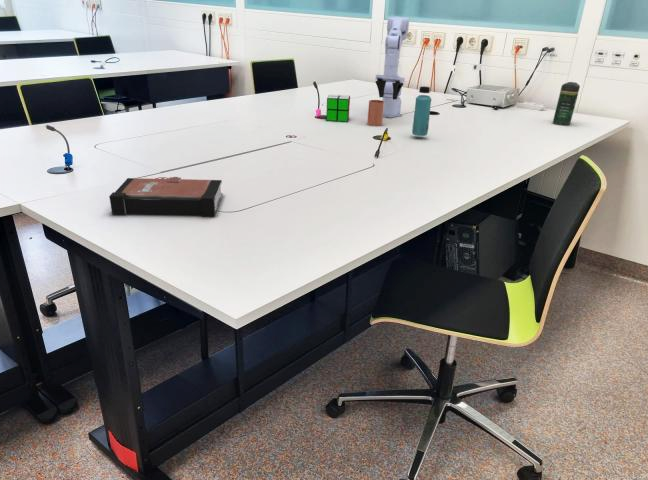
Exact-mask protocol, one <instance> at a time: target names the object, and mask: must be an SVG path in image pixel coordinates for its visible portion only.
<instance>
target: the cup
mask: <svg viewBox="0 0 648 480" xmlns="http://www.w3.org/2000/svg"><path fill="white" fill-rule="evenodd" d="M383 113H384V101H382V99H370V100H368V108H367V121H366V123H367V124H366V125H368V126H371V127H381V126H383V123H384V116H383Z"/></svg>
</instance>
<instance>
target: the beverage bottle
mask: <svg viewBox="0 0 648 480" xmlns="http://www.w3.org/2000/svg"><path fill="white" fill-rule="evenodd" d="M418 92H419V93H420V95H417V96H416V97H415V104H414V112H413V122H412V128H411V133H412V135H413V136H416V137H425V136H427V135H428V132H429V124H430V116H431V115H430V114H431V107H432V106H431V105H432V97H430V95H426V94H430V92H431V88H430V86H425V85H424V86H419V91H418Z"/></svg>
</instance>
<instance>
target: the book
mask: <svg viewBox="0 0 648 480" xmlns="http://www.w3.org/2000/svg"><path fill="white" fill-rule="evenodd" d="M222 184H223V180H222V179H191V178H190V179H186V178H182V177H178V176H173V177H171V176H170V177H169V178H145V177H144V178H140V177H127V178H126V179H125V180H124V181H123V183H122V184H121V185H120V186H119V187H118V188H117V189H116V190H115V192H114V191H113V192H112V193H111V194H110V195H109V196H108V197H109V203H110V209H111V215H112V216H126V215H129V216H130V215H136V216H137V215H139V216H142V215H144V216H187V217H188V216H190V217H191V216H192V217H202V218H215V217H216V216H217V215H216V214H217V212H218V209H219V208H220V207H219V206H220V204H221V201H222V198H223V196H224V194H223V192H222V187H221V186H222Z"/></svg>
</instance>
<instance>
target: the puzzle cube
mask: <svg viewBox="0 0 648 480" xmlns="http://www.w3.org/2000/svg"><path fill="white" fill-rule="evenodd" d="M350 106H351V95H347V94H346V95H345V94H329V95H328V96H327V98H326V112H325V113H326V114H325V116H326V117H325V118H326V119H325V120H326V121H327V122H345V123H347V122H348V121H349V118H350Z"/></svg>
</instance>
